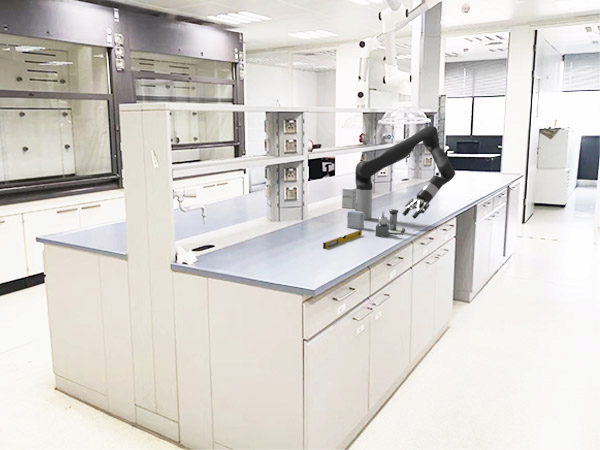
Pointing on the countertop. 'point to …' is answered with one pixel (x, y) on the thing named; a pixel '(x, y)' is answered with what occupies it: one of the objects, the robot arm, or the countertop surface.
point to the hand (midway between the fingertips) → (408, 216)
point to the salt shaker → (393, 219)
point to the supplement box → (348, 197)
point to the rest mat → (397, 231)
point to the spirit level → (342, 239)
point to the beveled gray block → (382, 226)
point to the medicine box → (355, 219)
